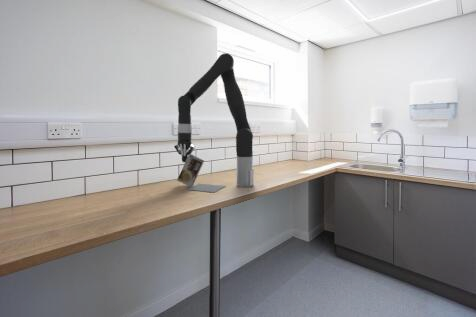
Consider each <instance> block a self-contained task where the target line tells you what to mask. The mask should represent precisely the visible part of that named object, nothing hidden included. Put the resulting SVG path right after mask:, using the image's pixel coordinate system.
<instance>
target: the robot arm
mask: <svg viewBox="0 0 476 317" xmlns="http://www.w3.org/2000/svg"><path fill="white" fill-rule="evenodd" d="M234 65H235V61H234V57H233V56H232V55H231V54H229V53H222V54H220V55H219V56H218V58H217V59H216V60H215V61H214V63H213V64H212V66H211V67H210V68H209V69H208V70H207V71H206V72H205V73H204V74H203V75H202V76H201V77H200V78H199V79H198V80H197V81H196V82H195V83H194V84H193V85H192V86H190V88H189V89H188V91H187V92H186V93H185V94H184V95H180V97H179V98H178V101H177V109H178V110H177V111H178V117H177V118H178V119H177V121H178V125H177V140H178V141H177V144H175V145H174V149H175V150H176V152H177V154H178V155H180V156H181V162H182V163H185V162H186V159H187V157H188V156H189V155H190V154H192V153H193V152H194V150H195V148H196V146H195V145H193V143H192V115H191V113H192V112H191V109H192V108H191V106H192V105H193V104H194V103H195V102H196V100H198V99H199V98H200V97H202V96H203V95H204V93H205V92H207V90H208V89H210V87H211V86H212V84H214V83H215V81H216V80H217V79H218V78H219V77H220V76H221V80H222V82H223V88H224V93H225V98H226V102H227V106H228V109H229V112H230V114H231V116H232V118H233V121H234V124H235V129H236V134H235V136H236V137H235V146H236V147H235V151H236V186H237V187H241V188H248V187H249V188H251V187H252V186H254V171H255V170H254V168H253V164H254V163H253V158H254V157H253V153H254V151H253V138H254V135H253V132H252V130H251V127H250V124H249V122H248V118H247V112H246V105H245V101H244V98H243V93H242V91H241V88H240V86H239V85H238V83H237V80H236V75H235V71H234Z"/></svg>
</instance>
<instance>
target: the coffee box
mask: <svg viewBox="0 0 476 317" xmlns="http://www.w3.org/2000/svg"><path fill="white" fill-rule="evenodd" d="M204 162H205V160H203V159H202V158H200V157H198V156H196V155H194V154H192V153H191V154H190V155H188V156H187V159H186V162H184V164H183V166H182V169H181V171H180V173H179V175H178V177H177V180H176V181H177V182H180V183H181V184H183V185H185V186H188V188H190V187H192V186H195V182H196V180H197V178H198V176H199V174H200V172H201V169H202V167H203V164H204Z"/></svg>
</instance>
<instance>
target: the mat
mask: <svg viewBox="0 0 476 317" xmlns="http://www.w3.org/2000/svg"><path fill="white" fill-rule="evenodd" d="M224 188H227V187H226V185H221V184H219V185H218V184H207V183H197V184H194V185H193V186H192V187H188V188H186V189H185V190H186V191H196V192H204V193H216V192H219V191H220V190H222V189H224Z"/></svg>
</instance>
